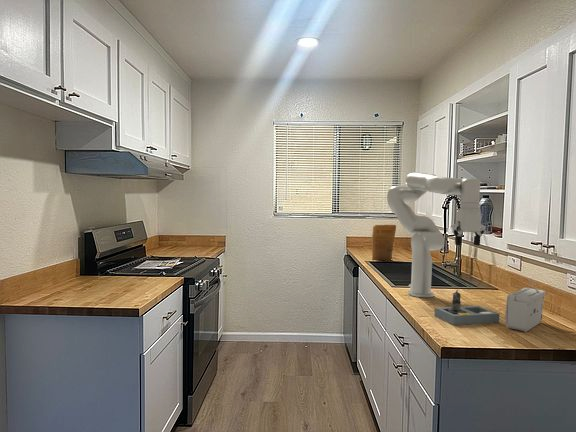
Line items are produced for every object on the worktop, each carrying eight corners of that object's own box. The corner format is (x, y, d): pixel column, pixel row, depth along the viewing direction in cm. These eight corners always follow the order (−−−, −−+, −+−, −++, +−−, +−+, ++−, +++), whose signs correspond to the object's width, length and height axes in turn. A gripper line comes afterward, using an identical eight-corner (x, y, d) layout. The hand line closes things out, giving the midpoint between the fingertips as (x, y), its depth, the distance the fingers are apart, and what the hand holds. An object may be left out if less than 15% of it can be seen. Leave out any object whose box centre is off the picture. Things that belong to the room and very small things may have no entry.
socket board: (434, 316, 167) (435, 306, 167) (477, 313, 173) (478, 304, 172) (453, 325, 156) (454, 315, 155) (499, 322, 161) (499, 312, 161)
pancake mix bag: (396, 261, 312) (397, 225, 310) (371, 261, 310) (373, 224, 309) (393, 260, 319) (394, 224, 317) (369, 259, 317) (370, 223, 315)
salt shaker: (459, 317, 166) (460, 288, 165) (466, 322, 160) (467, 292, 160) (445, 317, 166) (446, 288, 165) (451, 321, 160) (452, 291, 159)
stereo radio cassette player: (522, 318, 168) (524, 270, 167) (544, 323, 162) (547, 273, 161) (503, 328, 154) (506, 275, 153) (527, 334, 148) (531, 279, 147)
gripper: (480, 206, 185) (478, 244, 186) (447, 205, 180) (445, 244, 181) (492, 207, 178) (490, 246, 178) (458, 206, 173) (456, 246, 174)
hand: (467, 245), depth 180 cm, fingers open, 9 cm apart
